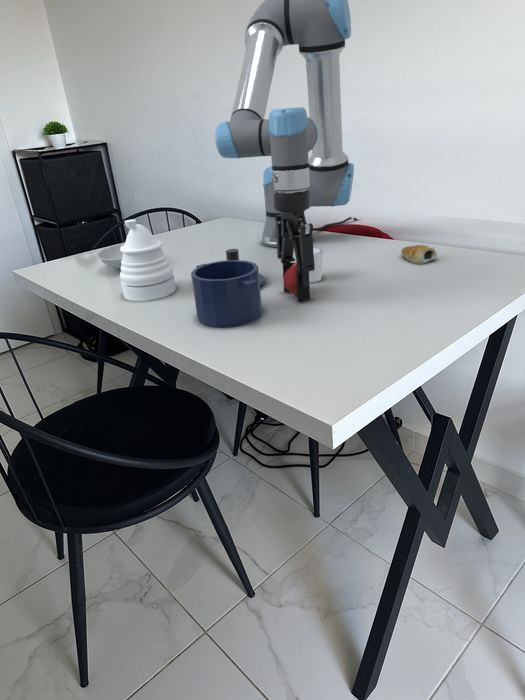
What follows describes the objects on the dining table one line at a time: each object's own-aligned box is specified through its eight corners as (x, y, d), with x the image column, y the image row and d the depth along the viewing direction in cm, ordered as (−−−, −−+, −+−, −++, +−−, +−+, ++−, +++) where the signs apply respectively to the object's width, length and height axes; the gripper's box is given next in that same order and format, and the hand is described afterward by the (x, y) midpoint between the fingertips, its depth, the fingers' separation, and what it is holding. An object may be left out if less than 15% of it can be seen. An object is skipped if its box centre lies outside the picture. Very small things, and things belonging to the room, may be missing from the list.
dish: (149, 273, 141) (145, 255, 139) (95, 280, 140) (91, 262, 137) (150, 256, 157) (148, 240, 155) (103, 262, 155) (99, 246, 153)
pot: (230, 296, 119) (226, 254, 115) (282, 317, 106) (279, 270, 101) (180, 312, 112) (173, 269, 108) (228, 337, 98) (222, 288, 94)
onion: (280, 299, 115) (277, 264, 112) (291, 290, 120) (289, 257, 116) (303, 301, 112) (302, 266, 109) (314, 292, 117) (312, 258, 113)
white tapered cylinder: (305, 285, 122) (304, 256, 119) (291, 278, 128) (289, 250, 124) (329, 279, 125) (328, 251, 121) (314, 272, 130) (313, 245, 127)
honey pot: (150, 304, 119) (136, 226, 111) (112, 297, 125) (96, 223, 118) (186, 286, 128) (175, 214, 121) (148, 280, 135) (136, 212, 127)
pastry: (394, 257, 136) (395, 243, 135) (413, 252, 139) (414, 238, 137) (419, 265, 129) (420, 250, 127) (439, 260, 131) (440, 245, 130)
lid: (242, 271, 136) (239, 239, 132) (277, 283, 125) (274, 248, 121) (195, 286, 128) (190, 252, 124) (228, 299, 117) (223, 263, 114)
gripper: (257, 187, 113) (264, 286, 123) (295, 198, 96) (301, 312, 107) (287, 183, 115) (293, 280, 125) (330, 193, 99) (332, 304, 109)
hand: (296, 295), depth 116 cm, fingers open, 6 cm apart
